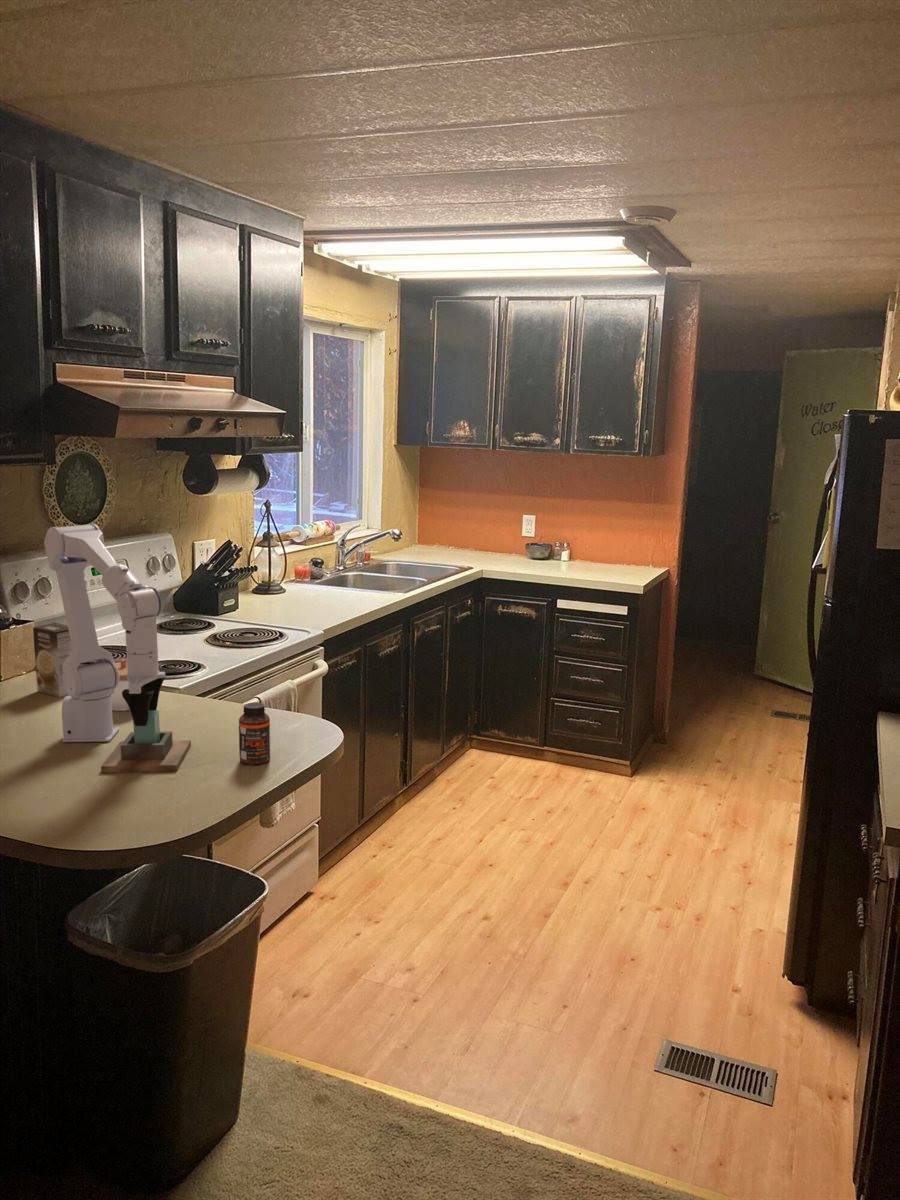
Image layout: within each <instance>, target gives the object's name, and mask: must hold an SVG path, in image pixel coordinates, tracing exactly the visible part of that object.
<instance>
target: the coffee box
mask: <svg viewBox="0 0 900 1200" xmlns="http://www.w3.org/2000/svg"><path fill="white" fill-rule="evenodd" d="M32 632H33V633H32V634H33V643H34V644H33V645H34V646H33V647H34V661H35V662H34V664H35V674H36V675H35V676H36V678H35V679H36V689H37V692H40V693H44V694H48V695H51V696H53V697H58V698H62V697H66V696H70V695H69V694H68V693H67V692H66V690H65V688H64V684H63V665H62V664H63V662H64V661H65V660H66V659H67V658H68V656H69V655H70V654H71V653H72V652H73V647H72V643H71V638H70V633H69V629H68V624H67V625H66V624H63V623H58V622H52V623H47V624H43V625H38V626H37V625H36V626H33V627H32ZM78 666H80V664H79V665H78Z"/></svg>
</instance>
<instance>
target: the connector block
mask: <svg viewBox="0 0 900 1200" xmlns="http://www.w3.org/2000/svg"><path fill="white" fill-rule="evenodd" d="M159 711H160V710H158V709H156V710H149V714H148V722H147V725H146V726H135V724H134V721H133V720H132V723H133V724H132V725H133V732H134V743H135V744H138V743H160V731H161V730H160V712H159Z"/></svg>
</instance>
